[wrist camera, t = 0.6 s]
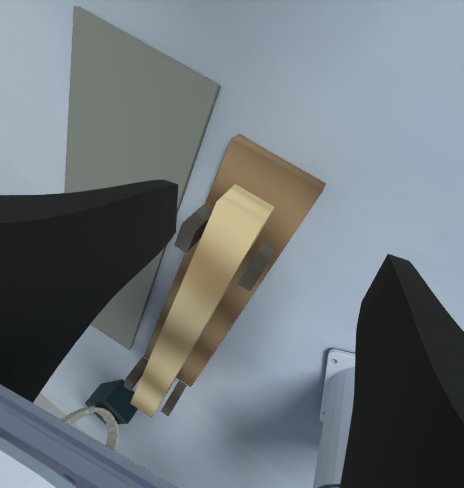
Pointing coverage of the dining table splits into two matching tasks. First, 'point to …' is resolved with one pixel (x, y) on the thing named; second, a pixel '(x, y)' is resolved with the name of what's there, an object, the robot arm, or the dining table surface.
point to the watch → (108, 409)
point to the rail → (202, 290)
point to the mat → (130, 134)
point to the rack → (258, 258)
